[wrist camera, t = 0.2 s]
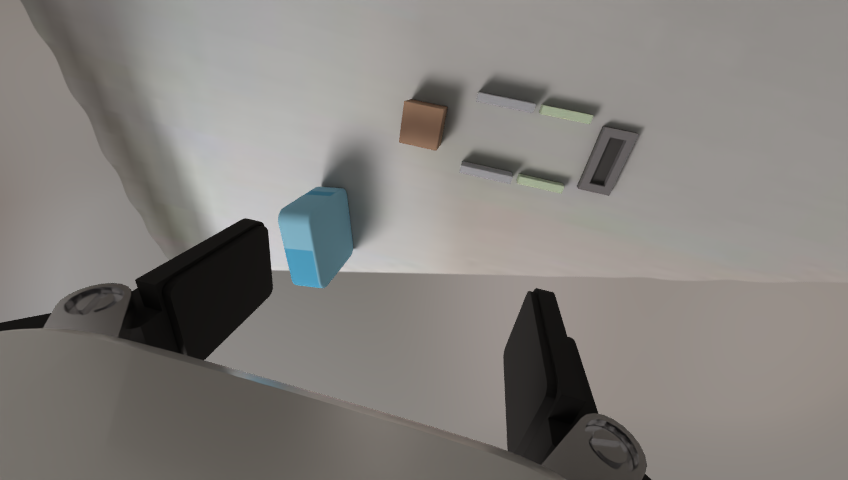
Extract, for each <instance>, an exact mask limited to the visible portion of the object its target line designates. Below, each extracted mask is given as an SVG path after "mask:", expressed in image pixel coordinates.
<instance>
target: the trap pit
mask: <svg viewBox="0 0 848 480" xmlns="http://www.w3.org/2000/svg"><path fill="white" fill-rule="evenodd" d="M638 135H639V134H638V133H634V132H629V131H625V130H620V129H615V128H610V127H605V126H603V127H602V129H601V132H600V134H599V136H598V139H597V141H596V143H595V146H594V148H593V150H592V153H591V155H590V157H589V160H588V162H587V164H586V167H585V169H584V171H583V174H582V176H581V178H580V181H579V183H578V185H577V187H578V189H582V190H586V191H591V192H595V193H600V194H604V195H608V196H609V195H610V193H611V191H612V189H613V187H614V184H615V182H616V180H617V178H618V176H619V174H620V172H621V170H622V168H623V166H624V164H625V162H626V160H627V158H628V156H629V154H630V152H631V150H632V148H633V146H634V144H635V142H636V140H637V138H638Z"/></svg>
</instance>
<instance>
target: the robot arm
mask: <svg viewBox="0 0 848 480" xmlns="http://www.w3.org/2000/svg"><path fill="white" fill-rule="evenodd" d="M135 281H136V284H137V287H138V288H137V289H135V290H134V291H131V289H130V288H129V287H128V286H126V285H123V284H117V283H106V284H98V285H93V286H89V287H86V288H83V289H80V290H77V291H75V292H73V293H71V294H69V295H68V296H66V297H64V298H63V299H62V300H60V301H59V303H58V304H57V305H56V306H55V308H54V310H53V311H52V313H50V314H44V315H39V316H34V317H28V318H23V319H18V320H13V321H8V322H2V323H0V480H651V479H650V478H649V477H648V476H647V475H646V474H645V472H646V467H647V463H646V458H645V454H644V452H643V450H642V448H641V446H640V444H639V443H638V442H637V440H636V439H635V438H634V436H633V435H632V434H631V433H630V432H629V431H628V430H627V429H626V428H625V427H624V426H622V425H621V424H619V423H618V422H616V421H615V420H614V419H612V418H609V417H607V416H605V415H601V414H598V411H597V408H596V405H595V402H594V399H593V396H592V393H591V389H590V387H589V383H588V380H587V377H586V374H585V371H584V368H583V365H582V362H581V358H580V355H579V352H578V349H577V346H576V343H575V341H574V340H573V339H572V338H570V337H567V334H566V331H565V327H564V324H563V321H562V317H561V314H560V311H559V307H558V304H557V301H556V297H555V294H554V293H553V292H549V291H545V290H541V289H537V288H536V289H535V290H534V291H533V292H531V291H528V293H527V295H526V297H525V300H524V302H523V305H522V307H521V310H520V312H519V315H518V317H517V320H516V322H515V324H514V327H513V330H512V332H511V334H510V337H509V339H508V342H507V344H506V347H505V351H504V380H505V403H506V423H507V446H508V451H506V450H503V449H500V448H497V447H495V446H492V445H489V444H486V443H483V442H480V441H477V440H473V439H470V438H467V437H464V436H461V435H457V434H454V433H451V432H448V431H445V430H441V429H438V428H435V427H432V426H428V425H425V424H422V423H418V422H415V421H411V420H408V419H405V418H401V417H398V416H395V415H391V414H388V413H384V412H381V411H378V410H374V409H371V408H367V407H364V406H361V405H357V404H353V403H350V402H347V401H343V400H340V399H337V398H333V397H330V396H326V395H323V394H319V393H316V392H313V391H309V390H306V389H302V388H299V387H295V386H291V385H288V384H284V383H281V382H278V381H274V380H271V379H267V378H263V377H260V376H257V375H253V374H250V373H246V372H243V371H239V370H236V369H232V368H229V367H225V366H222V365H218V364H215V363H211V362H207V361H204V359H206V358H207V357H208V356H209V355H210V354H211V353H212V352H213V351H214V350H215V349H216V348H217V347H218V346H219V345H220V344H221V343H222V342H223V341H224V340H225V339H226V338H227V337H228V336H229V335H230V334H231V333H232V332H233V331H234V330H235V329H236V328H237V327H238V326H240V325H241V324H242V323H243V322H244V321H245V320H246V319H247V318H248V317H249V316H250V315H251V314H252V313H253V312H254V311H255V310H256V309H257V308H258V307H259V306H260V305H261V304H262V303H263V302H264V301H265V300H266V299H267V298H268V297H269V296H270V294H271V292H272V289H273V284H272V272H271V261H270V249H269V237H268V230H267V228H266V227H264V224H263V223H262V222H259V221H255V220H251V219H246V218H245V219H242V220H240V221H239V222H237V223H235V224H233V225H231V226H230V227H228V228H226V229H224V230H223V231H221V232H219V233H217V234H215V235H214V236H212V237H210V238H208V239H207V240H205V241H203V242H201V243H199V244H198V245H196V246H194V247H192V248H191V249H189V250H187V251H185V252H184V253H182V254H180V255H178V256H176V257H175V258H173V259H171V260H169V261H168V262H166V263H164V264H162V265H160V266H159V267H157V268H155V269H153V270H152V271H150V272H148V273H146V274H144V275H143V276H141V277H139V278H137V279H136V280H135Z"/></svg>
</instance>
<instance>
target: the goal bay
mask: <svg viewBox="0 0 848 480" xmlns="http://www.w3.org/2000/svg"><path fill="white" fill-rule="evenodd" d="M539 113H540V114H543V115H547V116H552V117H557V118H562V119H567V120H572V121H576V122H581V123H586V124H590V123H591V121H592V118H593V115H591V114H586V113H581V112H576V111H572V110H567V109H562V108H557V107H552V106H547V105H541V108H540V111H539ZM517 184H521V185H526V186H530V187H535V188H539V189H543V190H548V191H552V192H557V193H561V194H562V191H563V189H564V185H563V184H562V183H559V182H554V181H550V180H545V179H541V178H536V177H532V176H527V175H523V174H519V175H518V178H517Z"/></svg>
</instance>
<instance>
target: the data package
mask: <svg viewBox="0 0 848 480" xmlns="http://www.w3.org/2000/svg"><path fill="white" fill-rule="evenodd" d="M278 223H279V227H280V232H281V236H282V240H283V244H284V249H285V253H286V257H287V261H288V265H289V270H290V274H291V278H292V281H293V283H294V284H295V285H301V286H309V287H317V288H325V287H326V286H327V285H328V284H329V283H330V281H331V280H332V279H333V278H334V276H335V275H336V274H337V272H338V271H339V270H340V269H341V267H342V266H343V265H344V264H345V262H346V261H347V260H348V259H349V257H350V256H351V254H352V251H353V240H352V232H351V223H350V215H349V207H348V199H347V193H346V191H345V189H343V188H329V187H316V188H314V189H313V190H311V191H309V192H308V193H306V194H305V195H303V196H301V197H300V198H298V199H297V200H295V201H294V202H292V203H290V204H289V205H287V206H286V207H284V208H283V209H282V210H281V211H280V213H279V217H278Z"/></svg>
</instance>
